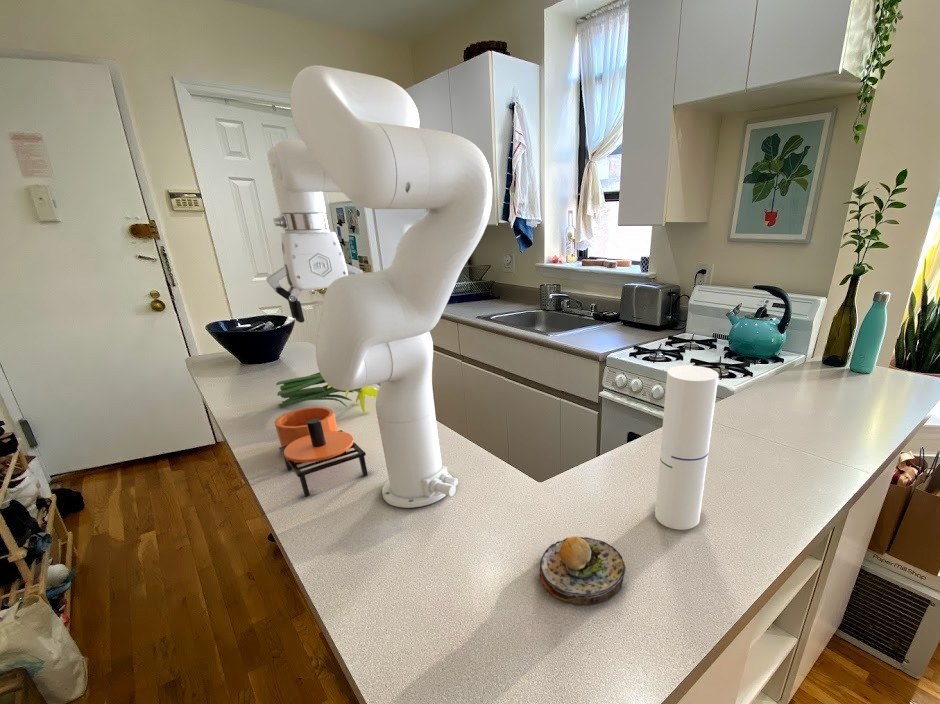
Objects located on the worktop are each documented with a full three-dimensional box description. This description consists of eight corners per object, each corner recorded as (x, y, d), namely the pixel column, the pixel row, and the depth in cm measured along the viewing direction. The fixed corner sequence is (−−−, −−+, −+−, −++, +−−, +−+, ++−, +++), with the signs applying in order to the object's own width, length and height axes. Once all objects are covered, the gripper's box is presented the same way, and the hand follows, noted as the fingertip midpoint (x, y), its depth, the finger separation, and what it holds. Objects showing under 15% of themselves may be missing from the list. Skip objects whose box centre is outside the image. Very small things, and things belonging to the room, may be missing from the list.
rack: (370, 475, 91) (365, 452, 89) (304, 498, 84) (297, 474, 82) (346, 450, 100) (341, 429, 98) (285, 469, 93) (278, 447, 91)
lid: (367, 442, 92) (362, 414, 90) (314, 471, 83) (306, 439, 80) (325, 432, 98) (319, 404, 95) (271, 457, 88) (262, 427, 85)
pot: (351, 442, 104) (344, 411, 101) (307, 464, 95) (298, 431, 92) (317, 433, 109) (310, 403, 106) (272, 453, 100) (263, 422, 97)
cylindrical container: (691, 535, 72) (711, 384, 62) (648, 520, 76) (660, 375, 66) (704, 511, 78) (724, 369, 68) (663, 499, 81) (676, 362, 71)
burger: (639, 591, 62) (643, 546, 59) (556, 616, 58) (555, 570, 55) (601, 537, 72) (602, 497, 69) (529, 556, 68) (526, 514, 65)
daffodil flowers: (318, 392, 137) (411, 371, 123) (296, 433, 129) (393, 416, 115) (271, 354, 125) (367, 326, 111) (243, 397, 117) (343, 373, 103)
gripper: (258, 225, 77) (284, 327, 84) (361, 223, 88) (376, 313, 95) (247, 225, 82) (272, 321, 89) (346, 223, 93) (361, 309, 100)
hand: (326, 317), depth 92 cm, fingers open, 9 cm apart
